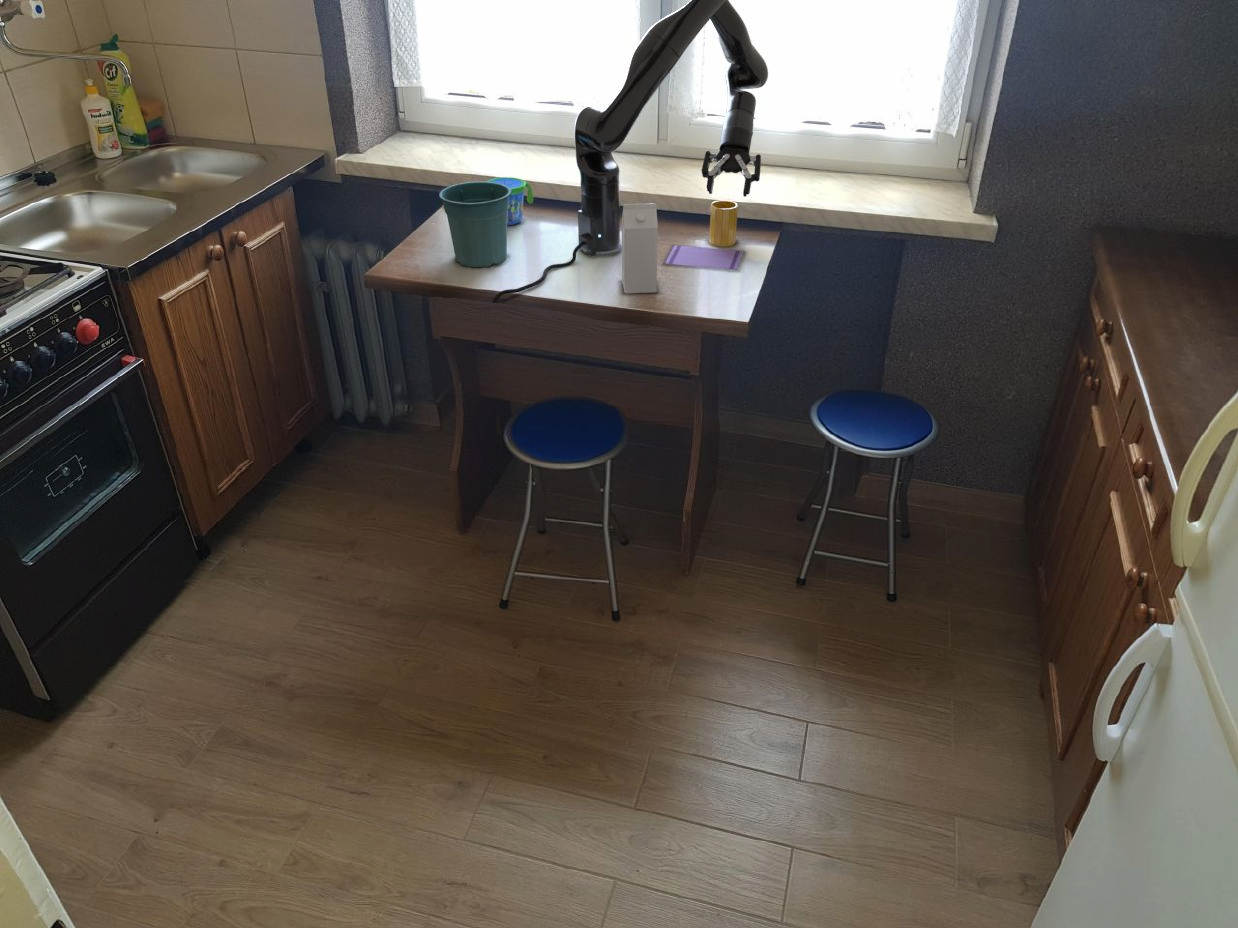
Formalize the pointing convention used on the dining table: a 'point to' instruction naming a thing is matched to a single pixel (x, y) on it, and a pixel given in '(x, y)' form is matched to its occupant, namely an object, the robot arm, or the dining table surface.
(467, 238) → the flower pot
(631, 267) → the milk carton
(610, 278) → the dining table surface
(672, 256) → the cloth
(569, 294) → the dining table surface
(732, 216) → the tumbler
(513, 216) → the snack cup
